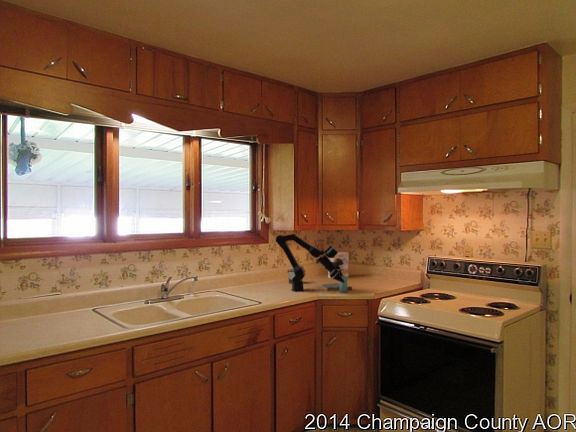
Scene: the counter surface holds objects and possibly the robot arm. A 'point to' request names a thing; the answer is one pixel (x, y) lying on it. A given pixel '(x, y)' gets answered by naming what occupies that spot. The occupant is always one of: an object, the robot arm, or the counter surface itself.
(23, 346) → the counter surface
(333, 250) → the robot arm
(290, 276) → the food container
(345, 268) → the coffeecake box
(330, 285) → the mat
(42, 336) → the counter surface
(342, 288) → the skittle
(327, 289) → the bar
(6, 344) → the counter surface
